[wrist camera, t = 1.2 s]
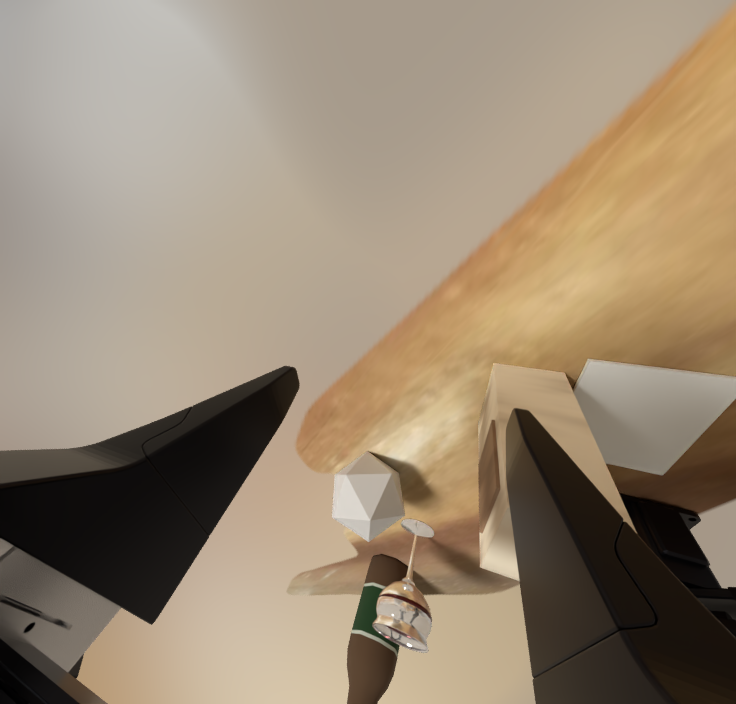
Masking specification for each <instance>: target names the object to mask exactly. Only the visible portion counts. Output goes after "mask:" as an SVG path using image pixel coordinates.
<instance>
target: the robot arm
mask: <svg viewBox="0 0 736 704" xmlns="http://www.w3.org/2000/svg"><path fill="white" fill-rule="evenodd" d="M298 390H299V379H298V375H297V371H296V369H295V368H294V367H290V366H283V367H281V368H279V369H276V370H274V371H272V372H269V373H267V374H265V375H263V376H260V377H258V378H256V379H254V380H251V381H249V382H247V383H244V384H242V385H239V386H237V387H235V388H233V389H230V390H228V391H226V392H223V393H221V394H219V395H216V396H214V397H212V398H209V399H207V400H205V401H203V402H200V403H198V404H196V405H194V406H193V407H189V408H186V409H184V410H182V411H179V412H177V413H175V414H172V415H170V416H167V417H165V418H163V419H160V420H157V421H155V422H152V423H150V424H147V425H144V426H142V427H139V428H136V429H134V430H131V431H128V432H126V433H123V434H121V435H118V436H115V437H112V438H110V439H107V440H105V441H102V442H99V443H96V444H92V445H88V446H84V447H78V448H70V449H46V450H45V449H44V450H11V451H0V704H107V703H106V702H105V701H103V700H102V699H101V698H100V697H98V696H97V695H96V694H95V693H93V692H92V691H91V690H89V689H88V688H87V687H86V686H84V685H83V684H82V683H81V682H79V681H78V680H77V679H76V678H77V676H78V673H79V670H80V666H81V662H82V659H83V655H84V653H85V651H86V650H87V649H88V648H89V646H90V645H91V644H92V642H94V640H95V639H96V638H97V637H98V635H99V634H100V633H101V632H102V631H103V629H104V628H105V627H106V626H107V624H108V623H109V622H110V621H111V619H112V618H113V617H114V616H115V614H116V613H117V612H118V611H119V610H120V608H123V609H125V610H126V611H128V612H130V613H132V614H133V615H135V616H137V617H139V618H140V619H142V620H144V621H146V622H147V623H149V624H151V625H152V624H153V623H154V622H155V620H156V619H157V618H158V616H159V614H160V613H161V612H162V610H163V608H164V607H165V605H166V604H167V602H168V601H169V599H170V597H171V596H172V594H173V593H174V591H175V590H176V588H177V586H178V585H179V583H180V582H181V580H182V578H183V577H184V575H185V574H186V572H187V571H188V569H189V568H190V566H191V565H192V563H193V561H194V560H195V558H196V557H197V555H198V554H199V552H200V550H201V549H202V547H203V546H204V544H205V543H206V541H207V539H208V538H209V535H210V534H211V533H212V531H213V530H214V528H215V527H216V525H217V523H218V522H219V520H220V519H221V517H222V515H223V514H224V512H225V511H226V509H227V508H228V506H229V505H230V503H231V502H232V500H233V498H234V497H235V495H236V493H237V492H238V491H239V489H240V487H241V486H242V484H243V483H244V481H245V480H246V478H247V476H248V475H249V473H250V472H251V470H252V469H253V467H254V465H255V464H256V462H257V461H258V459H259V458H260V456H261V454H262V453H263V451H264V450H265V448H266V446H267V445H268V444H269V442H270V440H271V439H272V437H273V436H274V434H275V432H276V431H277V429H278V428H279V426H280V424H281V423H282V421H283V419H284V418H285V416H286V414H287V412H288V410H289V407H290V406H291V404H292V402H293V400H294V398H295V396H296V393H297V392H298ZM506 482H507V491H508V498H509V506H510V513H511V521H512V528H513V536H514V543H515V551H516V558H517V565H518V573H519V580H520V588H521V595H522V602H523V610H524V618H525V625H526V633H527V640H528V647H529V655H530V662H531V670H532V676H533V678H534V679H533V686H534V693H535V701H536V704H736V587H728V589H724V588H721V586H720V585H719V583H718V581H717V579H716V578H715V576H714V574H713V573H712V571H711V569H710V568H709V565H710V563H709V561H708V560H707V558H706V556H705V555H704V553H703V551H702V550H701V548H700V546H699V545H698V543H697V541H696V540H695V538H694V536H693V535H692V533H691V531H690V529H691V528H692V527H693V526H695V525H696V524H698V523H699V522H700V521H701V519H700V517H699V516H698V514H696V513H694V512H691V511H687V510H683V509H679V508H674V507H670V506H666V505H662V504H658V503H654V502H649V501H645V500H641V499H637V498H633V497H629V496H624V495H620V497H621V499H622V501H623V503H624V506H625V508H626V510H627V512H628V514H629V517H630V519H631V521H632V523H633V525H634V528H635V530H636V532H637V533H636V532H635V531H634V530H633V529H632V527H631V526H630V525H629V524H628V523H627V522H625V521H624V522H623V520H624V519H623V517H622V516H621V515H620V514H619V513H618V512H617V510H616V509H615V508H614V507H613V506H612V505H611V504H610V502H609V501H608V500H607V499H606V498H605V497H604V496H603V494H602V493H601V492H600V491H599V490H598V489H597V488H596V486H595V485H594V484H593V483H592V482H591V481H590V480H589V478H588V477H587V476H586V475H585V474H584V473H583V472H582V470H581V469H580V468H579V467H578V466H577V465H576V463H575V462H574V461H573V460H572V459H571V458H570V457H569V455H568V454H567V453H566V452H565V451H564V450H563V449H562V447H561V446H560V445H559V444H558V443H557V442H556V441H555V439H554V438H553V437H552V436H551V435H550V434H549V433H548V431H547V430H546V429H545V428H544V427H543V426H542V425H541V423H540V422H539V421H538V420H537V419H536V418H535V416H534V415H533V414H532V413H531V412H530V411H529V410H526V409H520V408H514V409H513V410H512V412H511V415H510V418H509V421H508V423H507V427H506Z"/></svg>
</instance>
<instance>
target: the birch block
mask: <svg viewBox="0 0 736 704" xmlns="http://www.w3.org/2000/svg"><path fill="white" fill-rule="evenodd" d="M514 408H520V409H526V410H529V411H530V412H531V413H532V414H533V415H534V416H535V418H536V419H537V420H538V421H539V422H540V423H541V425H542V426H543V427H544V428H545V429H546V430H547V431H548V433H549V434H550V435H551V436H552V437H553V438H554V439H555V441H556V442H557V443H558V444H559V445H560V446H561V447H562V449H563V450H564V451H565V452H566V453H567V454H568V455H569V457H570V458H571V459H572V460H573V461H574V462H575V463H576V465H577V466H578V467H579V468H580V469H581V470H582V472H583V473H584V474H585V475H586V476H587V477H588V478H589V480H590V481H591V482H592V483H593V484H594V485H595V486H596V488H597V489H598V490H599V491H600V492H601V493H602V494H603V496H604V497H605V498H606V499H607V500H608V501H609V502H610V504H611V505H612V506H613V507H614V508H615V509H616V510H617V512H618V513H619V514H620V515H621V516H622V517H623V519H624V520H623V522H624V521H625V522H627V523H628V524H629V525H630V526H631V527H632V529H633V530H634V531H635V532H636V530H635V528H634V525H633V523H632V521H631V519H630V517H629V514H628V512H627V510H626V508H625V506H624V503H623V501H622V499H621V497H620V494H619V492H618V490H617V488H616V486H615V483H614V481H613V479H612V477H611V475H610V472H609V470H608V468H607V466H606V463H605V461H604V459H603V457H602V455H601V452H600V450H599V448H598V446H597V444H596V441H595V439H594V437H593V435H592V432H591V430H590V428H589V426H588V424H587V421H586V419H585V417H584V415H583V413H582V410H581V408H580V406H579V404H578V401H577V399H576V397H575V395H574V393H573V390H572V388H571V386H570V384H569V382H568V379H567V377H566V375H565V373H564V372H556V371H549V370H542V369H535V368H527V367H520V366H513V365H506V364H498V363H494V364H493V367H492V371H491V375H490V379H489V383H488V387H487V391H486V394H485V398H484V402H483V406H482V410H481V414H480V418H479V421H478V439H479V464H478V465H479V532H480V567H481V568H483V569H486V570H489V571H492V572H495V573H498V574H501V575H503V576H506V577H509V578H512V579H515V580H518V581H520V580H519V573H518V565H517V558H516V551H515V543H514V536H513V528H512V521H511V513H510V506H509V498H508V491H507V482H506V427H507V423H508V421H509V418H510V415H511V412H512V410H513V409H514ZM636 533H637V532H636Z"/></svg>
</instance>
